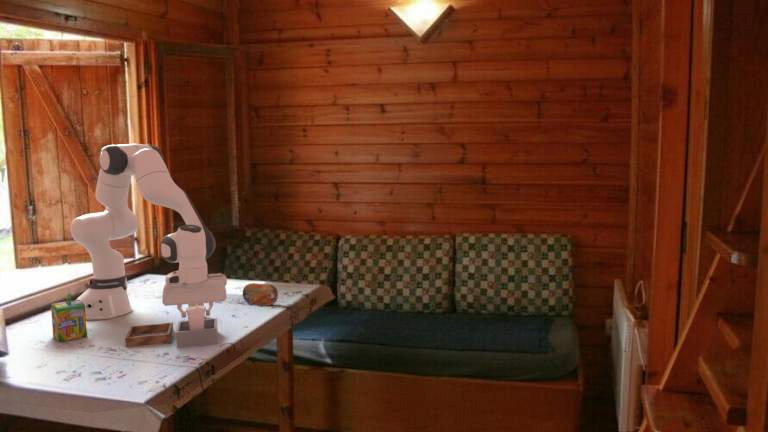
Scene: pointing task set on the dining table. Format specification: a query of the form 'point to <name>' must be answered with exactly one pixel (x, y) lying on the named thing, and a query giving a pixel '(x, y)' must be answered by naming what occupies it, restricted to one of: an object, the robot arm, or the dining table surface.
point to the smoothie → (196, 317)
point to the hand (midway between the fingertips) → (196, 316)
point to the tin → (260, 294)
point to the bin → (196, 334)
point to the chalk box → (68, 320)
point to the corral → (149, 339)
